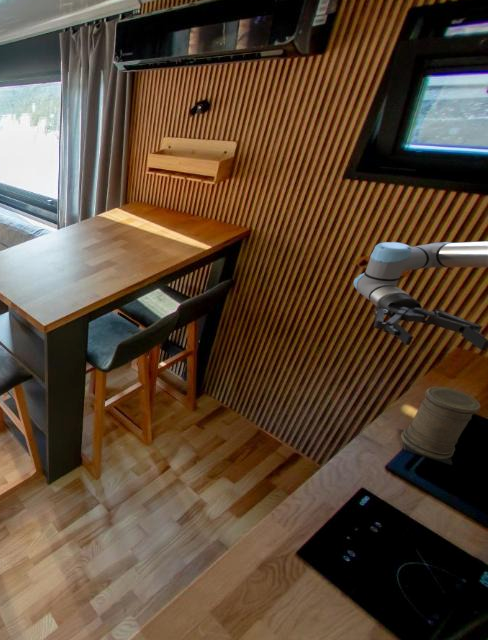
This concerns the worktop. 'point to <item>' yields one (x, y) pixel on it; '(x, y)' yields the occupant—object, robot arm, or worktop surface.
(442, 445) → the container
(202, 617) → the worktop surface
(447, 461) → the base pad
